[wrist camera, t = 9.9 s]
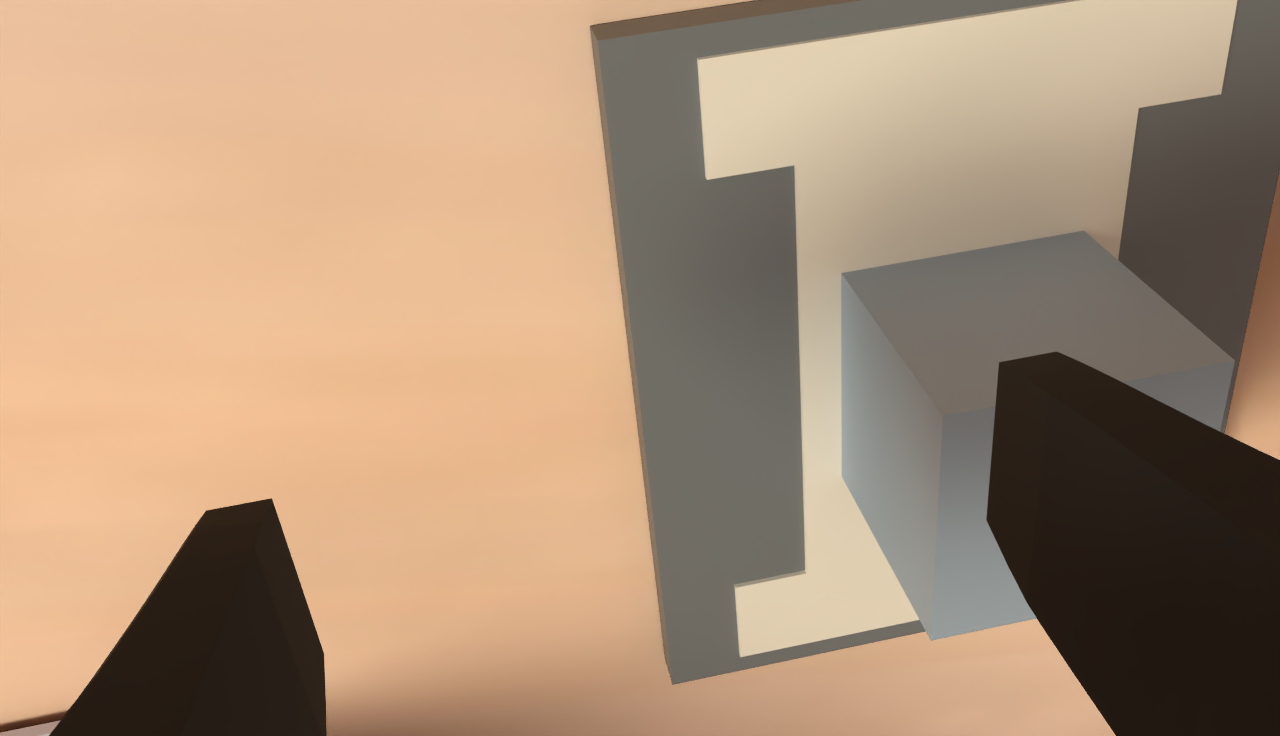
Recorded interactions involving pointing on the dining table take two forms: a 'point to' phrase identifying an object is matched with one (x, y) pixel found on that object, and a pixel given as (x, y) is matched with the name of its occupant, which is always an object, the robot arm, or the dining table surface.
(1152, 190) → the letter card
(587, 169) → the dining table surface
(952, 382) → the slate cube
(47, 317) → the dining table surface
